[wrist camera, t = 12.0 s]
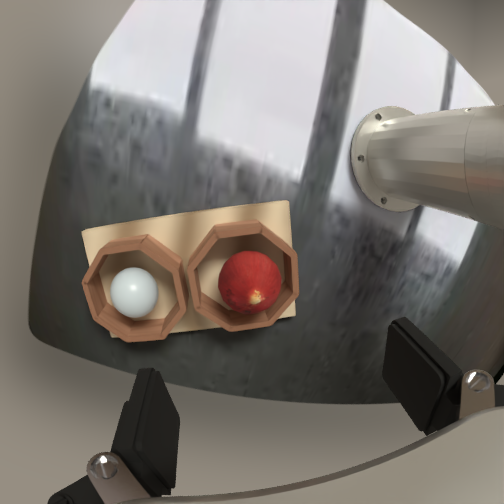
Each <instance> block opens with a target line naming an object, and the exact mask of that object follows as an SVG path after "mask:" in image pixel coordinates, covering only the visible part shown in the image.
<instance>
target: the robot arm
mask: <svg viewBox="0 0 504 504" xmlns="http://www.w3.org/2000/svg"><path fill="white" fill-rule="evenodd" d="M375 117H376V118H375ZM358 157H359V161H358ZM351 162H352V167H353V172H354V175H355V178H356V180H357V183H358V185H359V186H360V188H361V190H362V191H363V193H364V194H365V195H366V196H367V198H368V199H369V200H371V201H372V202H373V203H374V204H375V205H377V206H379V207H381V208H383V209H386V210H389V211H395V212H404V211H408V210H411V209H414V208H415V207H417V206H418V205H423V206H427V207H430V208H434V209H438V210H441V211H445V212H448V213H452V214H455V215H458V216H462V217H465V218H468V219H471V220H474V221H478V222H481V223H484V224H487V225H490V226H494V227H497V228H500V229H503V230H504V105H495V106H483V107H472V108H462V109H454V110H445V111H438V112H431V113H424V114H418V115H415V114H413V113H412V112H411V111H408V110H406V109H404V108H401V107H397V106H387V107H382V108H379V109H376V110H374V111H372V112H371V113H369V114H368V115H366V116H365V117H364V119H363V120H362V121H361V122H360V124H359V125H358V127H357V129H356V131H355V134H354V137H353V140H352V148H351ZM382 375H383V379H384V380H385V382H386V383H387V385H388V386H389V388H390V389H391V390H392V392H393V393H394V395H395V396H396V398H397V399H398V400H399V402H400V403H401V405H402V406H403V408H404V409H405V411H406V412H407V413H408V415H409V416H410V418H411V419H412V421H413V422H414V424H415V425H416V427H417V428H418V429H419V430H420V431H423V432H424V433H425V435H426V436H427V435H429V434H431V433H433V432H435V431H437V432H435V433H433V434H431V435H429V436H427V437H425V438H423V439H421V440H419V441H417V442H414V443H412V444H410V445H408V446H406V447H404V448H401V449H399V450H397V451H395V452H392V453H390V454H387V455H385V456H382V457H380V458H377V459H374V460H372V461H369V462H366V463H363V464H360V465H358V466H355V467H352V468H349V469H346V470H342V471H339V472H336V473H332V474H329V475H325V476H322V477H318V478H314V479H310V480H306V481H302V482H297V483H292V484H288V485H283V486H277V487H272V488H266V489H260V490H253V491H246V492H238V493H228V494H216V495H203V496H178V497H177V496H176V497H162V495H171V488H175V483H176V482H175V481H176V466H177V453H178V440H179V428H180V417H179V414H178V412H177V410H176V408H175V406H174V404H173V401H172V399H171V397H170V395H169V393H168V390H167V388H166V386H165V383H164V381H163V379H162V376H161V374H160V372H159V371H155V369H154V368H144V369H139V370H138V373H137V376H136V380H135V383H134V386H133V389H132V393H131V396H130V399H129V401H126V402H125V403H124V406H123V409H122V412H121V416H120V419H119V423H118V426H117V430H116V433H115V437H114V440H113V444H112V448H111V451H110V452H101V453H99V454H96V455H94V456H93V457H92V458H91V459H90V461H88V464H87V474H88V475H86V476H84V477H83V478H81V479H79V480H78V481H76V482H74V483H73V484H71V485H69V486H67V487H66V488H64V489H62V490H60V491H59V492H57V493H55V494H54V495H52V496H51V497H50V499H49V501H48V504H504V385H496V384H494V382H493V378H492V377H491V375H489V374H488V373H487V372H485V371H482V370H472V371H469V372H467V373H466V374H465V375H464V374H463V373H462V370H461V369H460V368H459V367H458V366H457V365H456V364H455V363H454V362H453V361H452V360H451V359H450V358H449V357H447V356H446V355H445V354H444V353H443V352H442V351H441V350H440V349H439V348H438V347H437V346H436V345H435V344H434V343H433V342H432V341H431V340H430V339H429V338H428V337H427V336H426V335H425V334H423V333H422V332H421V331H420V330H419V329H418V328H417V327H416V326H415V325H414V324H413V323H412V322H411V321H409V320H408V319H407V318H406V317H402V318H399V319H396V320H393V321H392V323H391V325H389V327H388V335H387V343H386V351H385V358H384V365H383V371H382Z"/></svg>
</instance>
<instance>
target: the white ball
mask: <svg viewBox="0 0 504 504" xmlns="http://www.w3.org/2000/svg"><path fill="white" fill-rule="evenodd" d="M158 296H159V291H158V286H157V283H156V281H155V279H154V278H153V276H152V275H151V274H150V273H148V272H147V271H145V270H143V269H141V268H135V267H132V268H127V269H124V270H122V271H120V272H119V273H118V274H117V275H116V276H115V278H114V279H113V281H112V283H111V287H110V297H111V300H112V303H113V305H114V307H115V308H116V309H117V310H118V311H119V312H120V313H121V314H123V315H125V316H127V317H131V318H138V317H143V316H145V315H147V314H148V313H150V312H151V311H152V310H153V309H154V307H155V306H156V303H157V301H158Z"/></svg>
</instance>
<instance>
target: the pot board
mask: <svg viewBox="0 0 504 504" xmlns="http://www.w3.org/2000/svg"><path fill="white" fill-rule="evenodd" d="M82 236H83V241H84V245H85V250H86V254H87V258H88V262H89V266H90V267H89V269H88V271H87V273H86V275H85V277H84V278H83V280H82V285H83V289H84V292H85V295H86V299H87V302H88V305H89V308H90V311H91V314H92V317H93V319H94V320H95V321H96V322H97V323H99V324H100V325H102V326H103V327H105V328H106V329H107V330H109V331H110V334H111V337H119V338H121V339H122V340H124V341H125V342H126V341H127V342H138V341H151V340H163V339H165V338H166V336H167V335H168V334H169V333H174V332H184V331H193V330H202V329H210V328H218V327H222V328H224V329H226V330H227V331H230V332H233V331H240V330H247V329H254V328H260V327H266V326H271V325H272V324H273V323H274V322H275V321H276V320H277V319H279V318H285V317H291V316H296V315H295V299H296V298H297V297H298V294H299V280H298V260H297V253H296V252H295V251H294V250H293V249H292V239H291V224H290V210H289V201H286V200H284V201H274V202H265V203H256V204H248V205H239V206H231V207H223V208H216V209H208V210H201V211H194V212H186V213H180V214H173V215H166V216H160V217H153V218H147V219H141V220H135V221H129V222H123V223H117V224H112V225H106V226H101V227H95V228H90V229H85V230H84V231H82ZM242 251H258V252H260V253H263V254H265V255H267V256H268V257H269V258H270V259H271V260H272V261H273V262H274V263H275V264H276V265H277V266H278V269H279V272H280V274H281V277H282V281H281V290H280V293H279V295H278V298H277V300H276V302H275V303H274V304H273V305H271V306H270V307H269V308H268V309H266V310H264V311H261V312H259V313H255V314H248V315H245V314H243V313H240V312H237V311H234V310H233V309H231V308H230V307H229V306H228V305H227V304H226V303H225V302H224V301H223V299H222V296H221V294H220V291H219V288H218V278H219V273H220V271H221V269H222V267H223V264H224V263H225V262H226V261H227V260H228V259H229V258H230V257H231V256H232V255H234V254H236V253H239V252H242ZM132 267H135V268H141V269H143V270H145V271H147V272H148V273H150V274H151V275H152V276H153V278H154V279H155V281H156V283H157V286H158V291H159V296H158V301H157V303H156V306H155V307H154V309H153V310H152V311H151V312H150V313H148V314H147V315H145V316H143V317H138V318H131V317H127V316H125V315H123V314H121V313H120V312H119V311H118V310H117V309H116V308H115V307H114V305H113V303H112V300H111V297H110V287H111V283H112V281H113V279H114V278H115V276H116V275H117V274H118V273H119V272H120V271H122V270H124V269H127V268H132Z"/></svg>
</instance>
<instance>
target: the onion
mask: <svg viewBox="0 0 504 504" xmlns="http://www.w3.org/2000/svg"><path fill="white" fill-rule="evenodd" d="M281 281H282V277H281V274H280V272H279V269H278V266H277V265H276V264H275V263H274V262H273V261H272V260H271V259H270V258H269V257H268V256H267V255H265V254H263V253H260V252H258V251H242V252H239V253H236V254H234V255H232V256H231V257H230V258H229V259H228V260H227V261H226V262H225V263H224V264H223V267H222V269H221V271H220V273H219V278H218V288H219V291H220V294H221V296H222V299H223V301H224V302H225V303H226V304H227V305H228V306H229V307H230V308H231V309H233V310H234V311H237V312H240V313H243V314H245V315H248V314H255V313H259V312H261V311H264V310H266V309H268V308H269V307H270V306H271V305H273V304H274V303H275V302H276V300H277V298H278V295H279V293H280V290H281Z"/></svg>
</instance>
